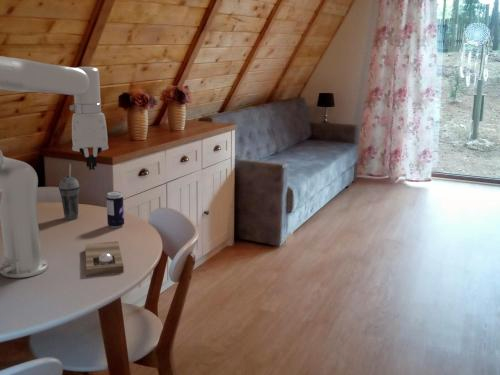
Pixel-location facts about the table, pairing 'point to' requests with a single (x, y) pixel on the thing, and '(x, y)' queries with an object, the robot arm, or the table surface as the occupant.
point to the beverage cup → (69, 196)
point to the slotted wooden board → (94, 253)
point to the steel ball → (105, 259)
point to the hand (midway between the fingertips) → (91, 168)
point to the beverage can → (115, 209)
